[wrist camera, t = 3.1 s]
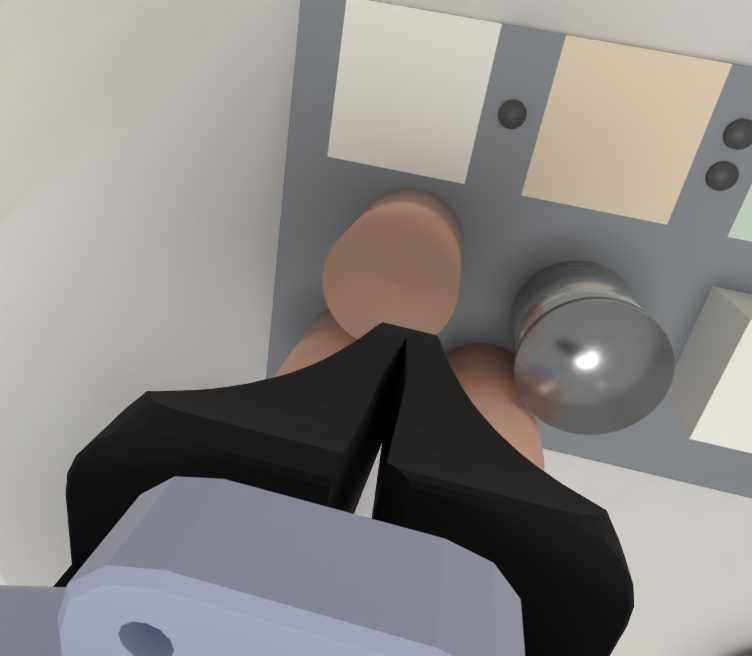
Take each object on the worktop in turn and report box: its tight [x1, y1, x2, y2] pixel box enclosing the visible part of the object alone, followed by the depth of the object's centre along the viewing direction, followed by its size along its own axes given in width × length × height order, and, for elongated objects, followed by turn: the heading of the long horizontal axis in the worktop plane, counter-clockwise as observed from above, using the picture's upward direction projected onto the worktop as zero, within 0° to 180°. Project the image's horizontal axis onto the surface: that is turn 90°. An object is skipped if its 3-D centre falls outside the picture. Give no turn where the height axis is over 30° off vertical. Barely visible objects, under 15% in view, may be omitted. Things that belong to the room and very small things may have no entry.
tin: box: [511, 261, 675, 435], centre depth 19 cm, size 5×5×4 cm
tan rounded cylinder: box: [322, 189, 464, 339], centre depth 18 cm, size 4×4×5 cm
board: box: [266, 0, 752, 498], centre depth 20 cm, size 15×22×1 cm
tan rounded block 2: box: [446, 343, 544, 471], centre depth 20 cm, size 4×4×5 cm
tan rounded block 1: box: [274, 309, 357, 377], centre depth 21 cm, size 4×4×5 cm
